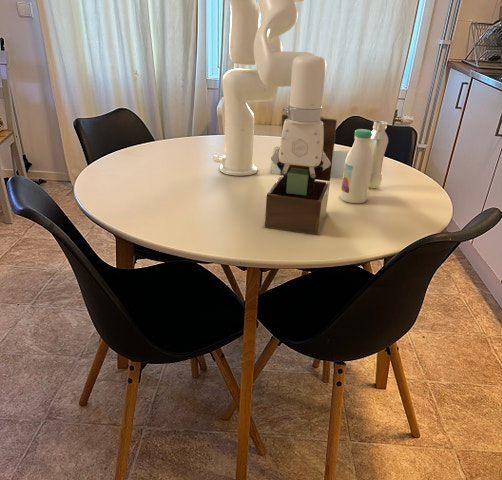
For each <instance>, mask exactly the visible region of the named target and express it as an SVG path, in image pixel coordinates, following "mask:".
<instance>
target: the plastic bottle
mask: <svg viewBox="0 0 502 480" xmlns="http://www.w3.org/2000/svg"><path fill="white" fill-rule="evenodd" d="M387 125H388V122H387V121H383V120H375V121H373V125H372V130H371V131H372V136H371V140H370V150H371V153H372V170H371V176H370V182H369V189H370V188H372V189H373V188H378V187H380V185H381V183H382V181H383V173H382V172H383V162H384V157H385V154H386V150H387V147H388V144H389V137H388V134H387V133H386V130H387Z"/></svg>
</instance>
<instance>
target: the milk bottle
mask: <svg viewBox="0 0 502 480" xmlns="http://www.w3.org/2000/svg"><path fill="white" fill-rule="evenodd" d="M372 131H373V130H370V129H366V128H365V129H364V128H358V129H356V130H354V137H353V138H354V142H353V144H352V147H351V148H350V149H349V152H347V153H348V155H347V158H346V162H345V168H344V174H343V178H342V181H341V182H342V183H341V189H340V199H341V200H342V201H343V202H345V203H346V202H347V203H351V204H362V203H365V202H366V201H367V198H368V194H369V189H370V187H369V182H370V176H371V170H372V153H371V150H370V140H371V136H372Z"/></svg>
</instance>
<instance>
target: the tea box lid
mask: <svg viewBox="0 0 502 480" xmlns="http://www.w3.org/2000/svg"><path fill="white" fill-rule="evenodd" d="M286 119H288V116H287V115H286V114H283V113H282V115H281V130H282V129H283V125H284V121H285V120H286ZM321 121H322V122H323V128H324V143H323V151H324V153H325V154H326V156H327V158H328V159H329V161H330V162H331V165H330V166H329V167H328V168H326V169H325V170H323V171H322V172H321V173H319V174H318V175H317V176H315V181H323V182H330V181H331V178H332V177H331V169H332V160H333V151H335V150H334V149H335V141H336V132H337V123H338V118H337V119H336V118H328V117H327V118H326V117H324V116H321ZM322 164H323V161H322V160H321V162H320V164H319V165H318V166H316V168H318V167H319V166H321V165H322ZM291 168H296V169H305V170H309V167H308V166H299V165H291V166H290V168H289V170H291ZM279 175H280V176H283V174H282V171H281V170H280V174H279Z"/></svg>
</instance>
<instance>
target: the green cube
mask: <svg viewBox="0 0 502 480" xmlns="http://www.w3.org/2000/svg"><path fill="white" fill-rule="evenodd" d="M309 176H310V170H305V169H296V168H291V170H290V171H289V172H288V176H287V189H286V193H290V194H298V195H305V196H306V194H307V186H308V178H309Z"/></svg>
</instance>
